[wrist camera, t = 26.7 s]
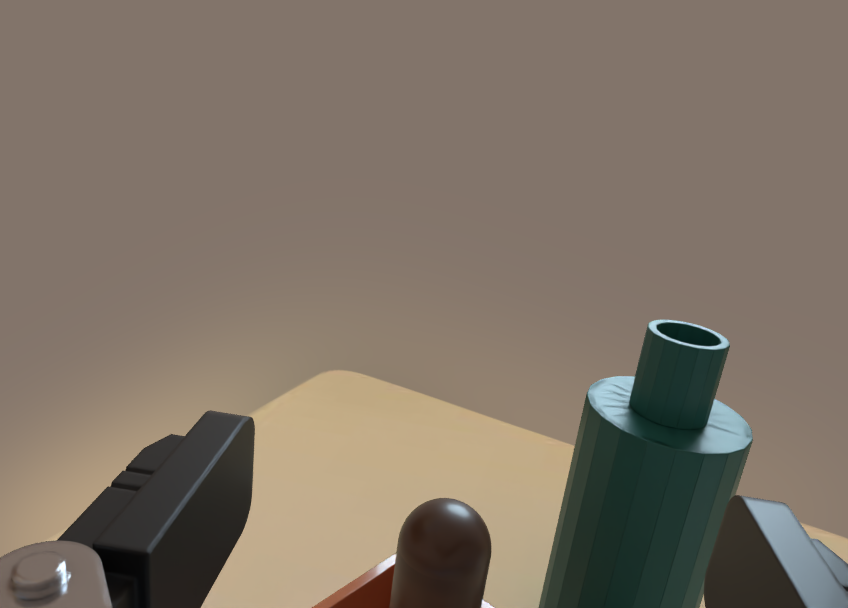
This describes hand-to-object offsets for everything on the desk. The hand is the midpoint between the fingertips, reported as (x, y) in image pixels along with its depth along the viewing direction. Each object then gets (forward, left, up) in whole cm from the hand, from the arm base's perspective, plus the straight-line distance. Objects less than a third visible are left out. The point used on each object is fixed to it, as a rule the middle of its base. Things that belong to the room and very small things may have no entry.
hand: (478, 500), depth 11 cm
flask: (-22, -4, -21) cm, 31 cm away
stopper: (-9, -6, -21) cm, 23 cm away
